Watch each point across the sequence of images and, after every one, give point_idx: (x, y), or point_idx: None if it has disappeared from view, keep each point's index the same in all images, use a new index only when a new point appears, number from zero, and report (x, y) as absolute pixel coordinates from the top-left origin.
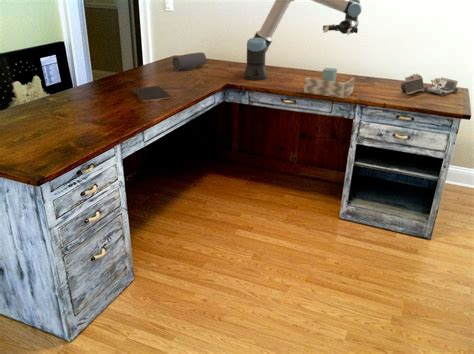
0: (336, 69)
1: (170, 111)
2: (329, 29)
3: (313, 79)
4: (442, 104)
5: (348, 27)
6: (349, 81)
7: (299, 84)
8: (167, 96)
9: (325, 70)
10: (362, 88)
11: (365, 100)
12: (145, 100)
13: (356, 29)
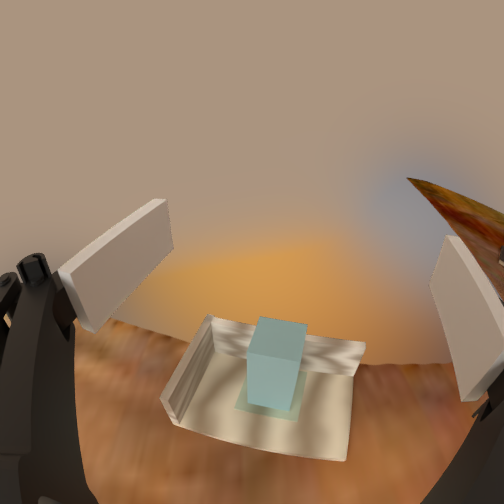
0: (248, 349)
1: (459, 236)
2: (476, 430)
3: (332, 338)
4: (8, 325)
5: (36, 409)
6: (193, 342)
7: (400, 457)
8: (501, 257)
9: (296, 324)
10: (126, 464)
11: (154, 340)
12: (501, 247)
13: (19, 282)
